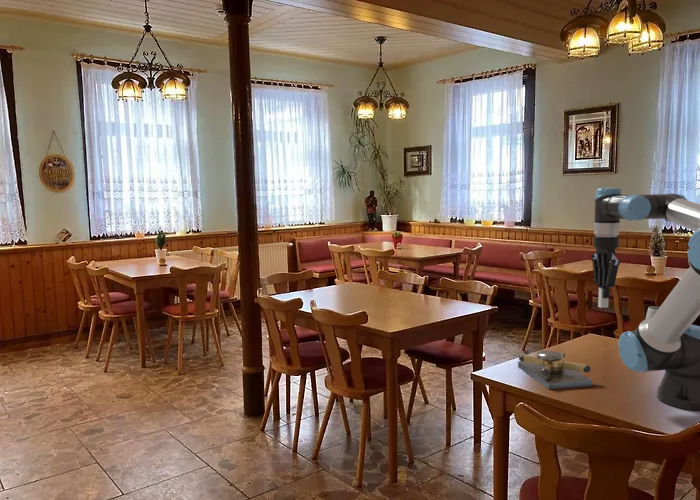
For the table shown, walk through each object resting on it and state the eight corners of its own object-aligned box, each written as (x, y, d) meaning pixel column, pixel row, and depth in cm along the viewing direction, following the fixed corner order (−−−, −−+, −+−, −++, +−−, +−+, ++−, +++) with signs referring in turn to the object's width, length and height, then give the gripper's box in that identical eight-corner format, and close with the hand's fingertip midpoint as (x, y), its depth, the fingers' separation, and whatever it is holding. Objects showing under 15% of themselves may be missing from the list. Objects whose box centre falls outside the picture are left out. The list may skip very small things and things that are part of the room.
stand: (592, 386, 185) (592, 377, 184) (548, 389, 182) (548, 380, 182) (557, 364, 206) (557, 356, 206) (518, 367, 204) (518, 358, 204)
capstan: (597, 366, 197) (598, 351, 197) (582, 387, 178) (583, 370, 177) (528, 354, 210) (529, 341, 210) (507, 373, 191) (507, 358, 190)
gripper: (629, 237, 180) (625, 311, 183) (605, 233, 192) (602, 302, 195) (607, 238, 179) (604, 312, 181) (584, 234, 191) (581, 303, 194)
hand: (603, 307), depth 188 cm, fingers closed
